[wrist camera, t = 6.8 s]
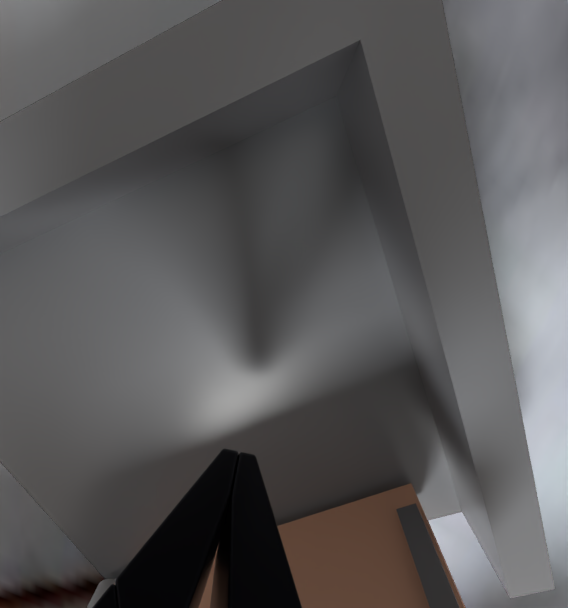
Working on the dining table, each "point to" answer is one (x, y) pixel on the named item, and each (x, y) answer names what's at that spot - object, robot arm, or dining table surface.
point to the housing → (259, 282)
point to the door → (362, 557)
